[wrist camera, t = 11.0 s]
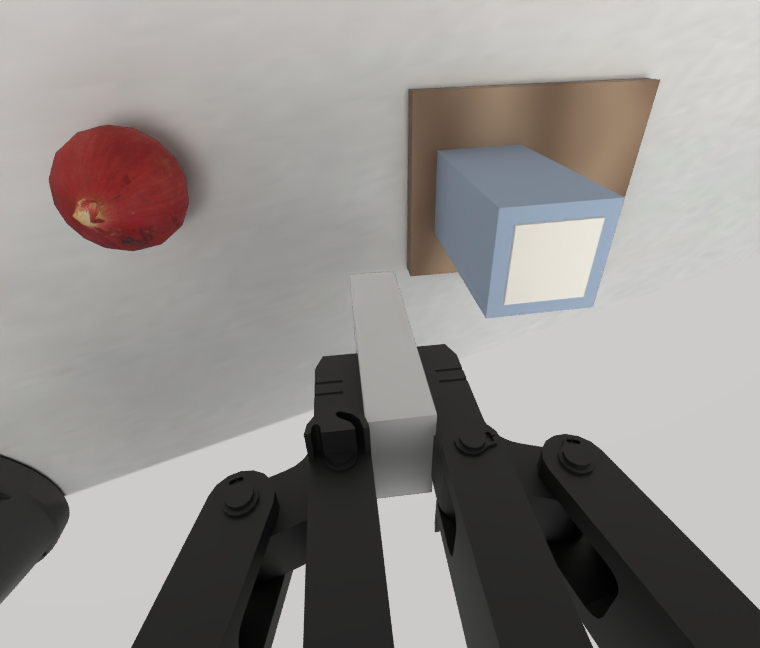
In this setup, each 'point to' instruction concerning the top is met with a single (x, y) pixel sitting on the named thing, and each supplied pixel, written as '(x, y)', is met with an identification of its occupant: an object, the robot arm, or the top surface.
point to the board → (521, 139)
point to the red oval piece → (119, 188)
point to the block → (523, 229)
